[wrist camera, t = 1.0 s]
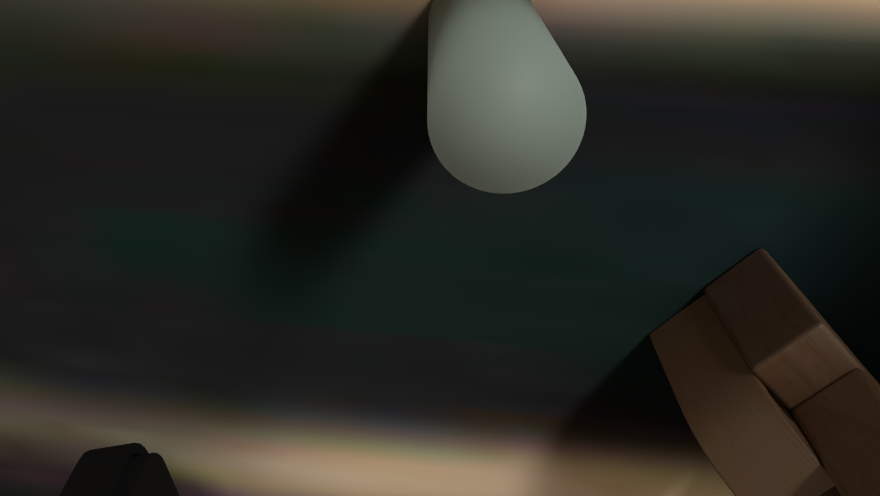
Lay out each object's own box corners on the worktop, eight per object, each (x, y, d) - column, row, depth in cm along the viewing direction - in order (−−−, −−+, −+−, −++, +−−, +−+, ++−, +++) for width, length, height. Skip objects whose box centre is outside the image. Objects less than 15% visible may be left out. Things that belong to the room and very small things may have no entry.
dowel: (525, -42, 30) (578, 25, 19) (538, 63, 32) (593, 179, 21) (419, -22, 30) (413, 56, 20) (438, 82, 32) (442, 205, 21)
